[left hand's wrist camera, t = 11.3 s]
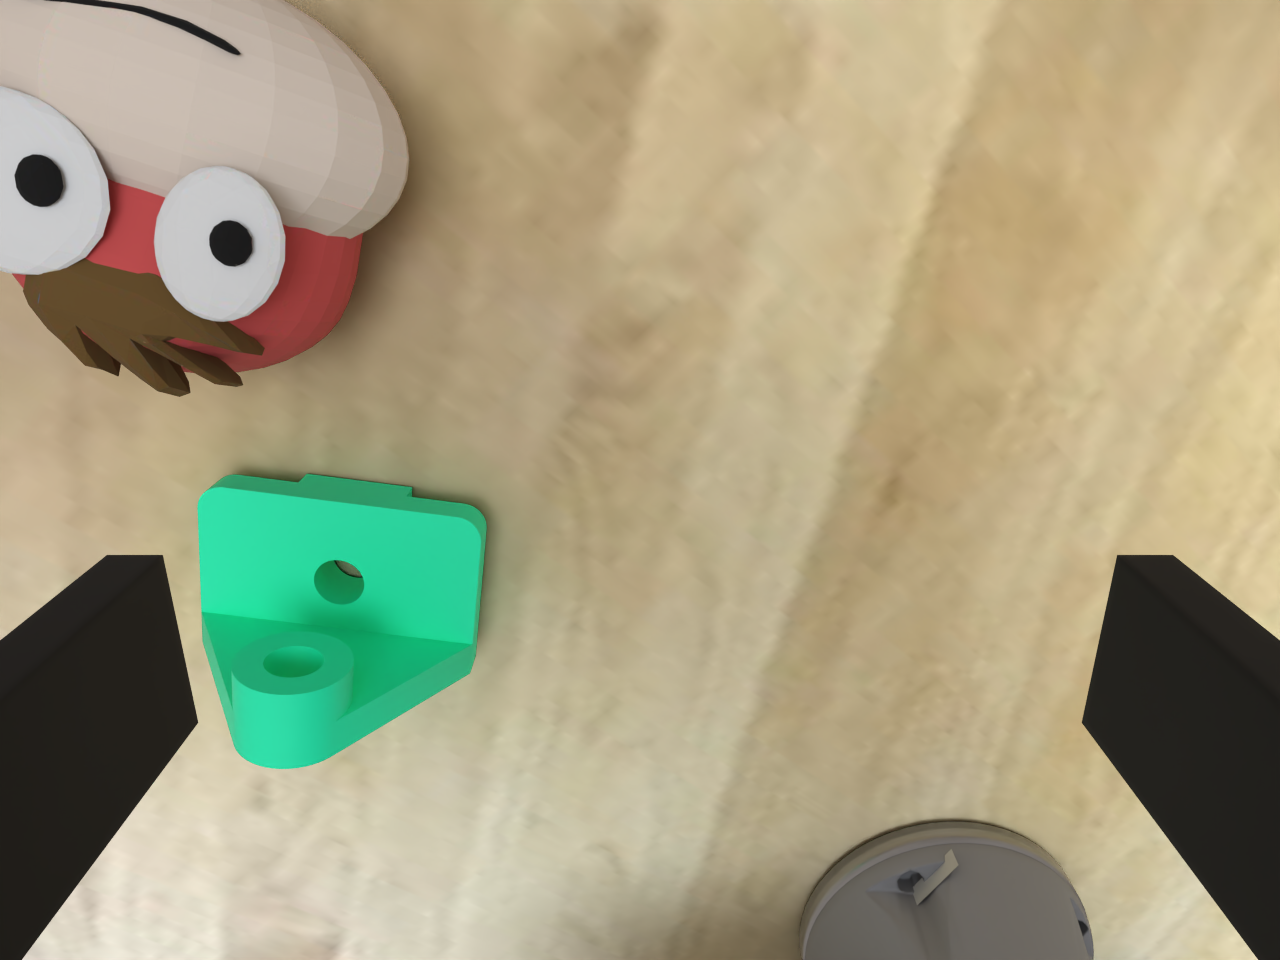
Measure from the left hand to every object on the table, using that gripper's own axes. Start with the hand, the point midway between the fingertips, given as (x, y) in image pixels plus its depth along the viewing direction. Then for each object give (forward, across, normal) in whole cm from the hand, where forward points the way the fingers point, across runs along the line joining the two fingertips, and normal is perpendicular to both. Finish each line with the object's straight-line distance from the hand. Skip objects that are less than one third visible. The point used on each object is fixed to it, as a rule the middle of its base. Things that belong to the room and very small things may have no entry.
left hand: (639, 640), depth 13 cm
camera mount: (+27, -13, -12) cm, 32 cm away
